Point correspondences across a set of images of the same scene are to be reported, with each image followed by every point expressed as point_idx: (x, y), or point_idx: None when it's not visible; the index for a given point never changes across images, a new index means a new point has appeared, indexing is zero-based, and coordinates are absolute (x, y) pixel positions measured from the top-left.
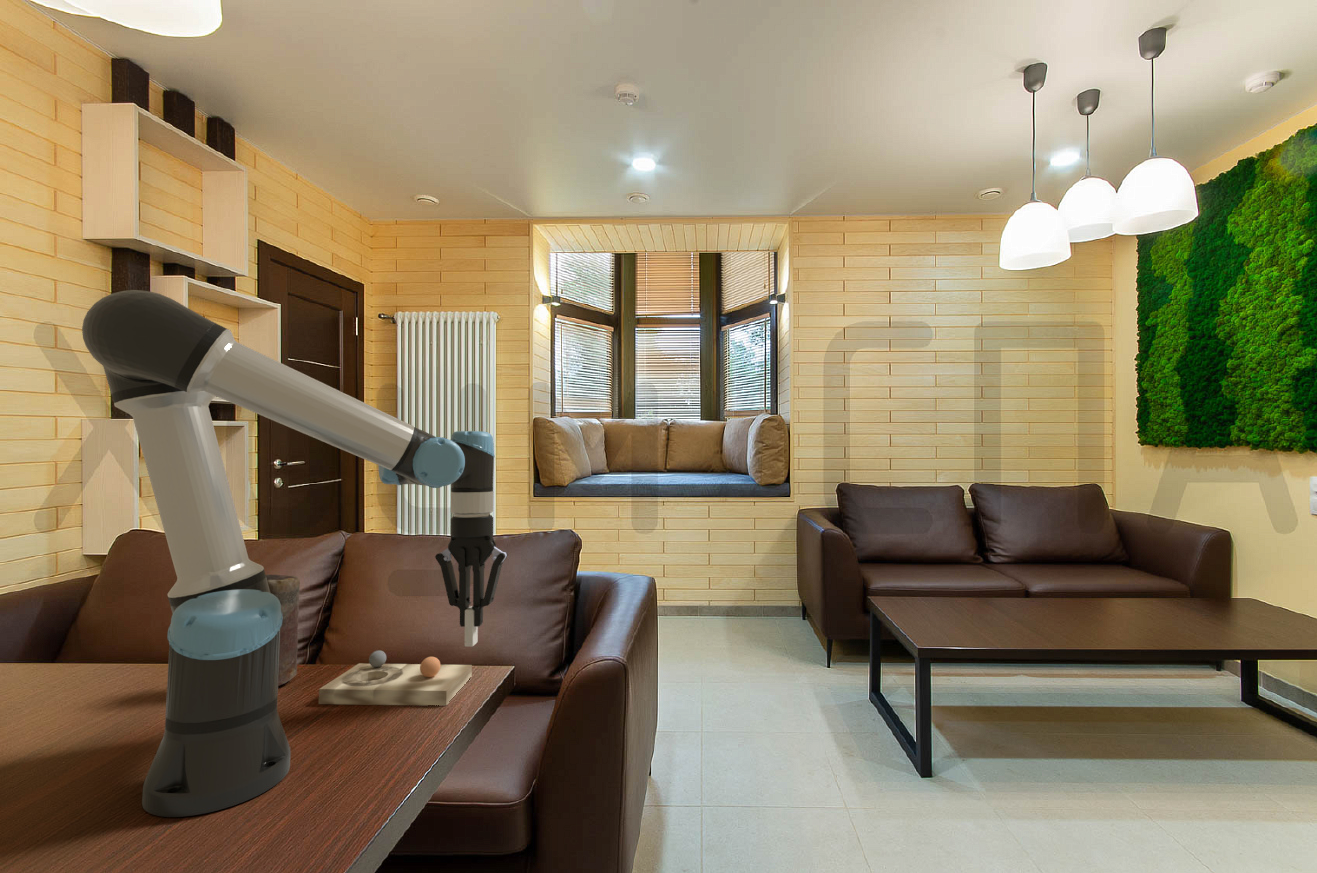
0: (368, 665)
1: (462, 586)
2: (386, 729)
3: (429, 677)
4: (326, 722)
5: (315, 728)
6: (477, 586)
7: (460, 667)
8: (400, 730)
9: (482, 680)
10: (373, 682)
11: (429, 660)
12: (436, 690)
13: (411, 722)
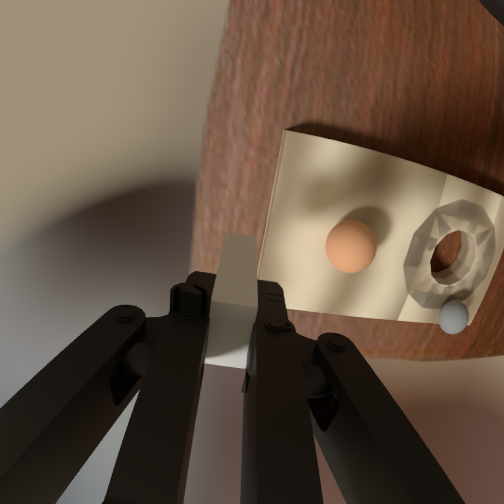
0: None
1: (284, 421)
2: (378, 39)
3: None
4: (478, 107)
5: (485, 88)
6: (154, 402)
7: None
8: (350, 27)
9: None
10: (451, 219)
11: (358, 241)
12: (313, 136)
13: (339, 57)
